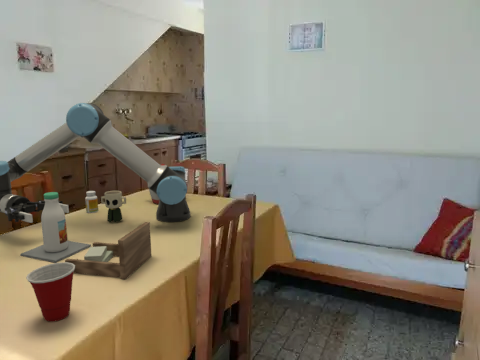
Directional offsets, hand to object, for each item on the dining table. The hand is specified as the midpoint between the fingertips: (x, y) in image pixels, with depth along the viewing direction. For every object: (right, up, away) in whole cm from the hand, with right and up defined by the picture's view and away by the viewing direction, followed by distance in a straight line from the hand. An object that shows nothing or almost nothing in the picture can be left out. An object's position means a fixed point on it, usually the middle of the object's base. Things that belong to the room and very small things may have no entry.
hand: (50, 213), depth 140 cm
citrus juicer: (+26, 0, +70) cm, 74 cm away
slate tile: (+1, -13, +3) cm, 14 cm away
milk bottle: (+1, -13, +2) cm, 13 cm away
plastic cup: (+20, -22, -40) cm, 50 cm away
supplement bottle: (-4, -4, +52) cm, 53 cm away
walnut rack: (+23, -15, -9) cm, 29 cm away
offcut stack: (+19, -15, -7) cm, 25 cm away
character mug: (+11, -7, +37) cm, 39 cm away
